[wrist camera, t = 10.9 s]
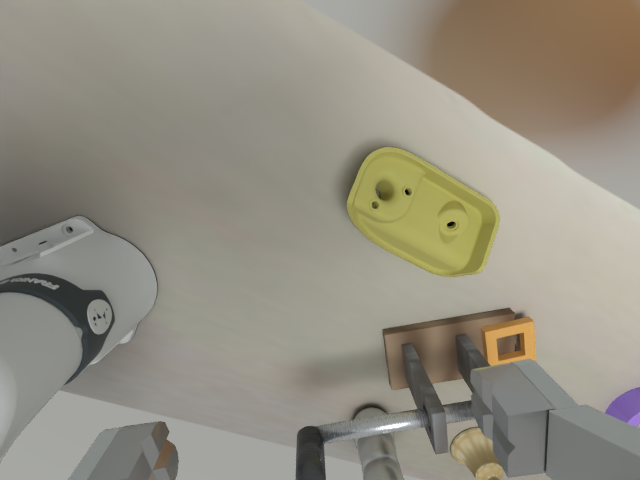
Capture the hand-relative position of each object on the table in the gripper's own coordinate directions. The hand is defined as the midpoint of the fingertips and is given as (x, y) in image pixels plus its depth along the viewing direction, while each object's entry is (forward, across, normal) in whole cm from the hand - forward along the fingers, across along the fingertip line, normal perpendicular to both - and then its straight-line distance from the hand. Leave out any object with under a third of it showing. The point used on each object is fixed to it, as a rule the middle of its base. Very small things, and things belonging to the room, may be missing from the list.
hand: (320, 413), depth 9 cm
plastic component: (+38, -13, +5) cm, 40 cm away
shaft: (+26, -5, +28) cm, 39 cm away
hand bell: (+38, -20, +49) cm, 65 cm away
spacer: (+35, -25, +28) cm, 51 cm away
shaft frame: (+37, -17, +28) cm, 49 cm away
